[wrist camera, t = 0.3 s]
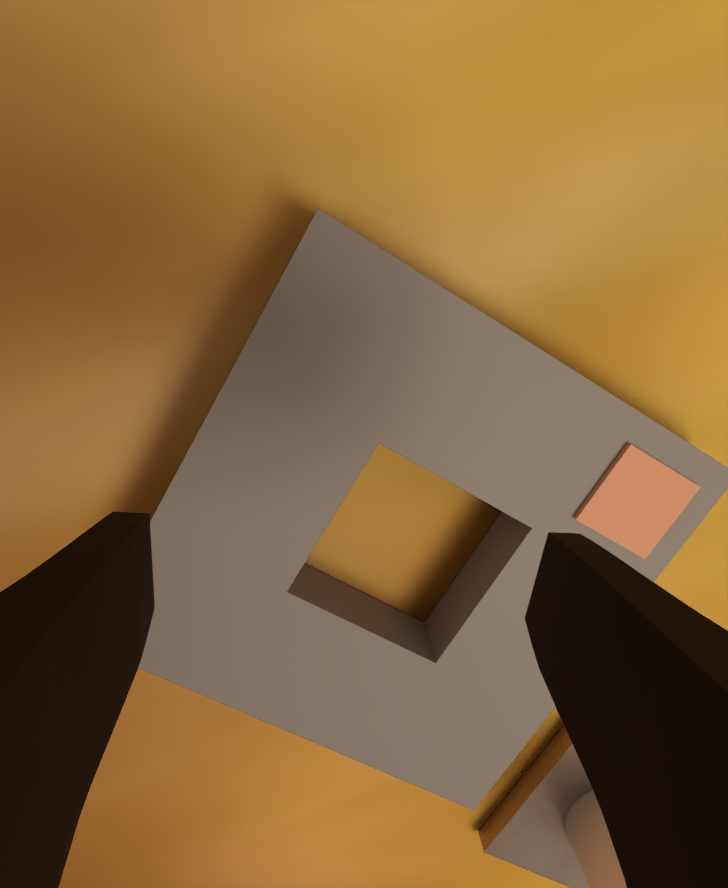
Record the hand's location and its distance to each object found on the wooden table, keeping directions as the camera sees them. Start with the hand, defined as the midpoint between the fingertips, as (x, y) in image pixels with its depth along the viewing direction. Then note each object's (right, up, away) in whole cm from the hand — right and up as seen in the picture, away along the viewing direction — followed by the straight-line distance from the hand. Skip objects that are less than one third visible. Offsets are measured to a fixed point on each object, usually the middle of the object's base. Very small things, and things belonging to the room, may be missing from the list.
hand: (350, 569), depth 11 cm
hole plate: (+2, -1, +11) cm, 12 cm away
